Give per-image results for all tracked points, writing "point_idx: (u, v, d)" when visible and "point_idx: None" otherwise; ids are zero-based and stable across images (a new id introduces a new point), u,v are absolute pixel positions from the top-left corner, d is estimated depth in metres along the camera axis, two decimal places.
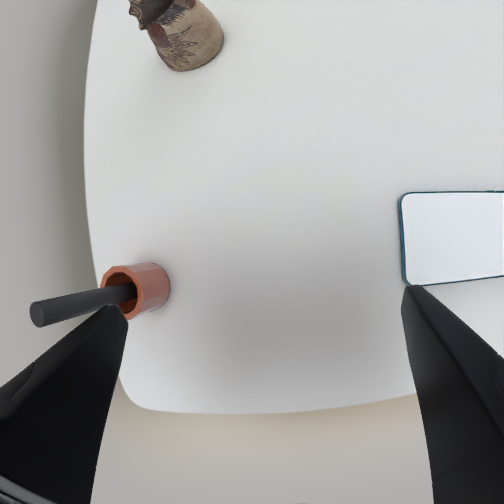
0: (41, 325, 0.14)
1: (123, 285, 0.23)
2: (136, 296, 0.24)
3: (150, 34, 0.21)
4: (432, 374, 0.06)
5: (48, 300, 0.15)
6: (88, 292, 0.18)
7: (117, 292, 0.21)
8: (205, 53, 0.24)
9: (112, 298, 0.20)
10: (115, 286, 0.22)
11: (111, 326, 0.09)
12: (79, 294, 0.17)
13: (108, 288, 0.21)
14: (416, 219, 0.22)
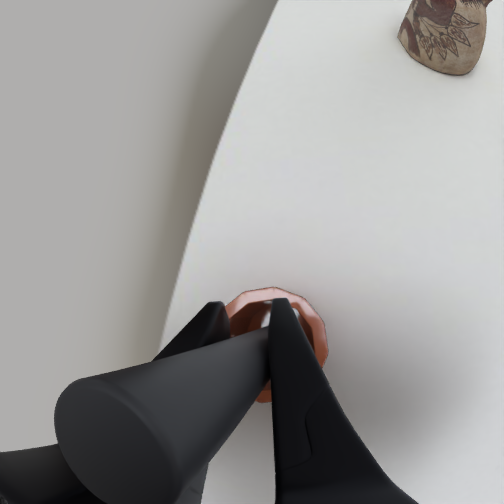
0: None
1: None
2: None
3: None
4: None
5: (191, 383, 0.03)
6: (260, 347, 0.07)
7: None
8: (466, 63, 0.14)
9: None
10: None
11: (220, 327, 0.08)
12: (252, 353, 0.06)
13: None
14: None
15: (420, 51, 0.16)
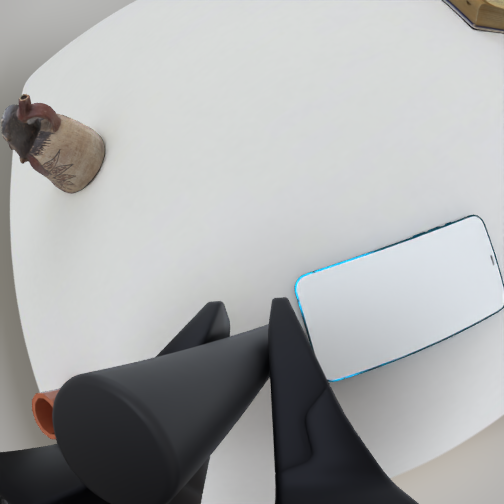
0: None
1: None
2: None
3: (31, 165, 0.22)
4: None
5: (188, 380, 0.03)
6: (259, 346, 0.07)
7: None
8: (85, 171, 0.26)
9: None
10: None
11: (220, 327, 0.08)
12: (250, 352, 0.06)
13: None
14: (320, 304, 0.20)
15: (64, 189, 0.27)
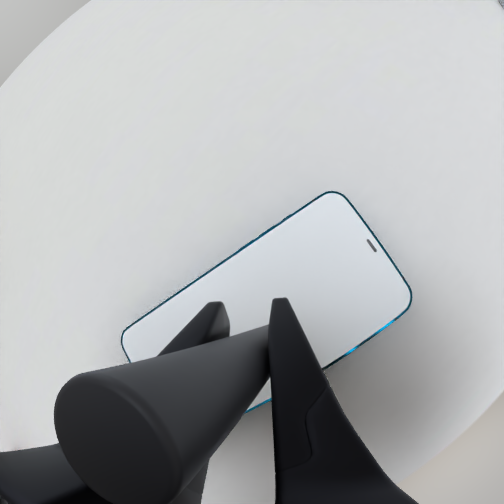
0: None
1: None
2: None
3: None
4: None
5: (191, 379, 0.03)
6: (260, 345, 0.07)
7: None
8: None
9: None
10: None
11: (220, 327, 0.08)
12: (252, 351, 0.06)
13: None
14: (147, 357, 0.17)
15: None
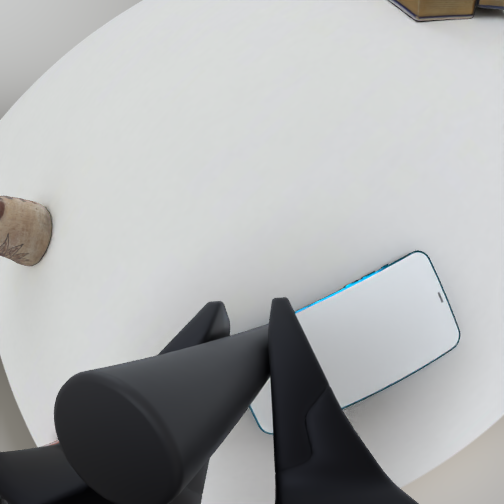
0: None
1: None
2: None
3: None
4: None
5: (191, 377, 0.03)
6: (260, 344, 0.07)
7: None
8: (36, 247, 0.25)
9: None
10: None
11: (220, 327, 0.08)
12: (252, 350, 0.06)
13: None
14: None
15: (22, 264, 0.26)
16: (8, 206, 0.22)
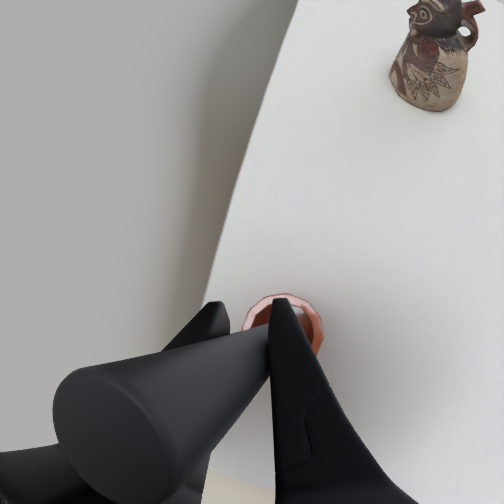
0: None
1: None
2: None
3: (417, 47, 0.16)
4: None
5: (190, 374, 0.03)
6: (260, 343, 0.07)
7: None
8: (446, 102, 0.19)
9: None
10: None
11: (220, 327, 0.08)
12: (251, 349, 0.06)
13: None
14: None
15: (407, 92, 0.21)
16: None
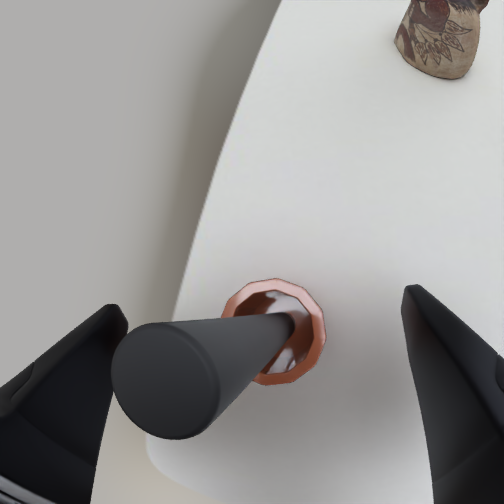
0: (171, 437, 0.03)
1: (285, 320, 0.12)
2: None
3: (425, 4, 0.12)
4: (432, 374, 0.06)
5: (220, 333, 0.04)
6: (267, 324, 0.08)
7: (286, 335, 0.11)
8: (459, 67, 0.15)
9: (281, 346, 0.10)
10: (280, 319, 0.11)
11: (111, 326, 0.09)
12: (261, 326, 0.07)
13: (279, 321, 0.10)
14: None
15: (415, 56, 0.17)
16: None
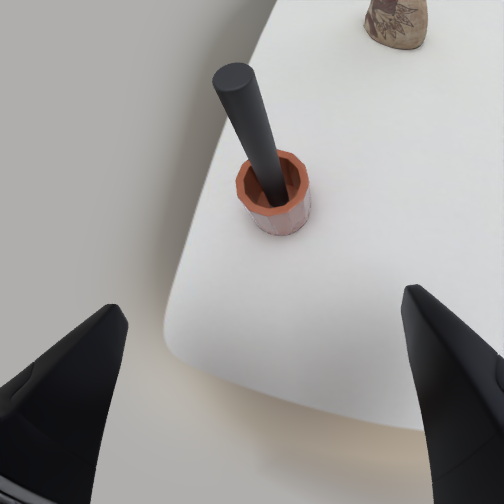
0: (235, 89, 0.09)
1: None
2: (280, 198, 0.19)
3: None
4: (432, 374, 0.06)
5: None
6: None
7: (281, 170, 0.17)
8: (412, 39, 0.21)
9: (278, 168, 0.16)
10: None
11: (111, 326, 0.09)
12: None
13: None
14: None
15: (377, 33, 0.23)
16: None
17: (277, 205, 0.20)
